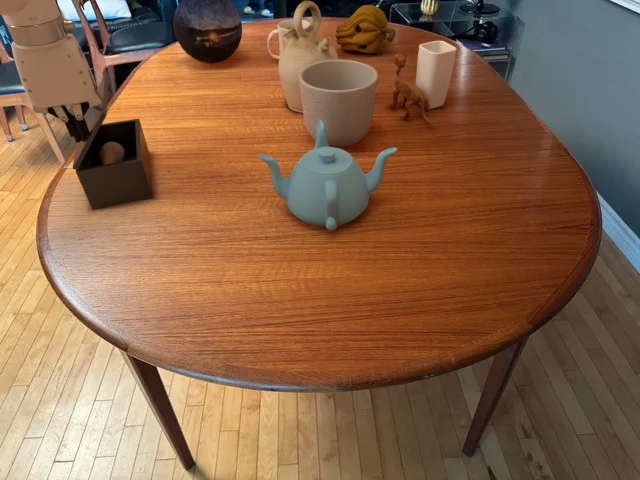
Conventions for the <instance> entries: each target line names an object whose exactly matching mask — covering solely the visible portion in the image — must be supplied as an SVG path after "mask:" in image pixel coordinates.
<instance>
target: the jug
mask: <svg viewBox="0 0 640 480" xmlns="http://www.w3.org/2000/svg"><path fill="white" fill-rule="evenodd" d="M308 9H309V10H310V12H311V17H312V18H311V23H310V28H309V29H307V30H304V29H303V26H302V20H303V17H304V15H305V12H306V11H307V10H308ZM293 19H294V27H293V28H291V29H289V30H287V31H286V32H284V33H283V36H284V37H285V38H286V39H288V41H289V43H288V45H287V47H285V48H284V50H283V52H282V54H281V56H280V59H278V66H277V67H278V68H277V69H278V76H279V77H278V78H279V81H280V86H281V88H282V93H283V95H284V98H285V101H286V104H287V106H288V108H289V109H290V110H292V111H293V112H296V113H299V114H303V107H302V99H301V91H300V83H299V74H300V72H301V70H302V69H304V68H305V67H307V66H308V65H311V64H313V63H316V62H320V61H326V60H340V59H339V55H338V54H337V52H336V51H337V50H336V49H335V48H334V47H333V45H331V44H330V42H331V41H330V39H329V37H325V38H323V39H322V38H320V37H318V35H317V33H318V32H319V29H320V28H321V22H322V14H321V10H320V8H319V6H318V5H317V4H316V3H315V2H314V1H311V0H303V1H302V2H300V3H299V4H298V5H297V6H296V9H295V11H294V14H293ZM297 33H298V34H299V35H300V37H299V36H298V35H297Z"/></svg>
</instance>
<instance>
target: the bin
mask: <svg viewBox="0 0 640 480" xmlns="http://www.w3.org/2000/svg"><path fill="white" fill-rule="evenodd" d="M108 142H116V143H118V144H120V145H121V146H122V147H123V148H124V151H125V158H124V161H123V162H117V163H111V164H105V165H103V164H102V163H101V161H100V159H99V153H100V150H101V148H102V147H103V145H104V144H106V143H108ZM151 165H152V163H151V153H150V150H149V147H148V144H147V140H146V137H145V134H144V130H143V127H142V124H141V120H140V118H132V119H127V120H126V119H125V120H120V121H119V120H118V121H114V122H113V121H112V122H108V123H102V125H101V126H100V128H99V130H98V132H97V134H96V136H95V138H94V139H93V141H92V143H91V145H90V147H89V149H88V151H87V152H86V154H85V156H84V158H83V160H82V162H81V164H80V165H79V167H78V169H77V170H75V174H76V176H77V178H78V180H79V182H80V185H81V188H82V190H83V192H84V194H85V197H86V199H87V201H88V203H89V206H90V207H91V210H96V209H103V208H107V207H112V206H118V205H124V204H128V203H132V202H133V203H134V202H139V201H144V200H149V199H154V190H153V179H152V178H153V177H152V166H151Z"/></svg>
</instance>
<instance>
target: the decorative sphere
mask: <svg viewBox="0 0 640 480" xmlns="http://www.w3.org/2000/svg"><path fill="white" fill-rule="evenodd" d="M173 31H174V35H175V38H176V41H177V43H178V45H180V47H181V48H182V50H183V51H184V52H185V53H186V54H187V55H188V56H189V57H191V58H192V59H194V60H196V61H197V62H202V63H205V64H218V63H221V62H224V61H226V60H228V59H229V58H230V57H232V56H233V55H234V54H235V52H236V51H237V49H238V48H239V46H240V44H241V41H242V35H243V24H242V19H241V16H240V14H239V11H238V9H237V8H236V6H235V5H234V4H233V2H231V0H181V1H180V2H179V3H178V4H177V7H176V9H175V11H174V16H173Z"/></svg>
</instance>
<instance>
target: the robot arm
mask: <svg viewBox="0 0 640 480" xmlns="http://www.w3.org/2000/svg"><path fill="white" fill-rule="evenodd" d="M0 16H2V18H3V20H4V23H5V26H6V27H7V29H8V32H9V35H10V36H11V38H12V40H13V41H11V52H12V56H13V60H14V64H15V66H16V70H17V72H18V76H19V79H20V82H21V85H22V87H23V89H24V92H25V94H26V96H27V99H28V101H29V102H30V104H31V105H32V111H33V112H34V113H36V114H46V115H47V114H49V115H51V116H53V117H55V118H57V119H59V120H60V121H61V122H62V123H64V125H65V127H66V130H67V132H68V134H69V136H70V138H72V137H73V139H74V141H75V144H76V143H79V142H80V141H83V142H85V141H86V139H87V134H89V129H88V126H87V124H86V121H85V118H84V115H85V114H86V112H87V111H88V109H89V108H90V107H93V106H96V105H98V104H100V103H101V99H102V98H101V96H100V95H99V93H98V92H97V83H96V80H95V77H94V75H93V73H92V70H91V67H90V66H89V65H90V64H89V63H88V60H87V58H86V56H85V54H84V52H83V50H82V47H81V46H80V43H79V42H78V40H77V39H76V36H75V35H74V34H73V33H69V31H71V30H75V29H76V25H75V23H74V19H67V18H64V17H63V16H62V14H61V13H60V10H59V7H58V4H57V2H56V0H0ZM68 105H72V109H73V113H74V114H72V112H70V111H69V109H68V107H67V106H68Z"/></svg>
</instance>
